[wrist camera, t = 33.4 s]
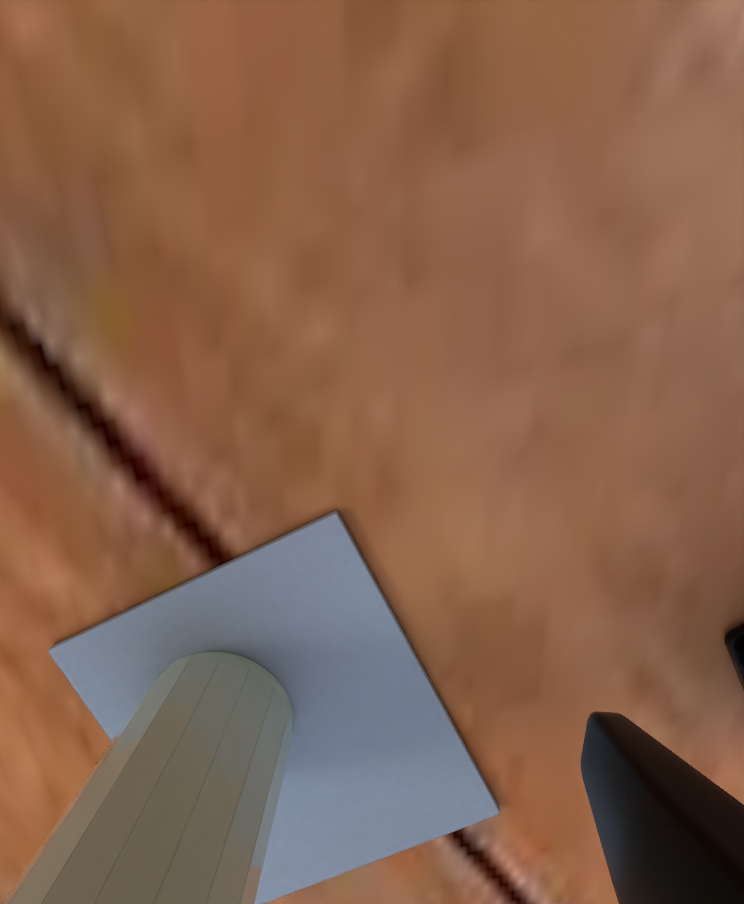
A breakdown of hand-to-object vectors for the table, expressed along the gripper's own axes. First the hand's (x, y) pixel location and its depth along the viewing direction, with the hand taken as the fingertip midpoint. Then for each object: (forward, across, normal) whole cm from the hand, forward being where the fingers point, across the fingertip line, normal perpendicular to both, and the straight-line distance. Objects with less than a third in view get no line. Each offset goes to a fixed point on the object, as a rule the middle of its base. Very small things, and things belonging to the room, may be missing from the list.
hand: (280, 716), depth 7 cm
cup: (+13, +5, +11) cm, 18 cm away
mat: (+13, +2, +12) cm, 18 cm away
